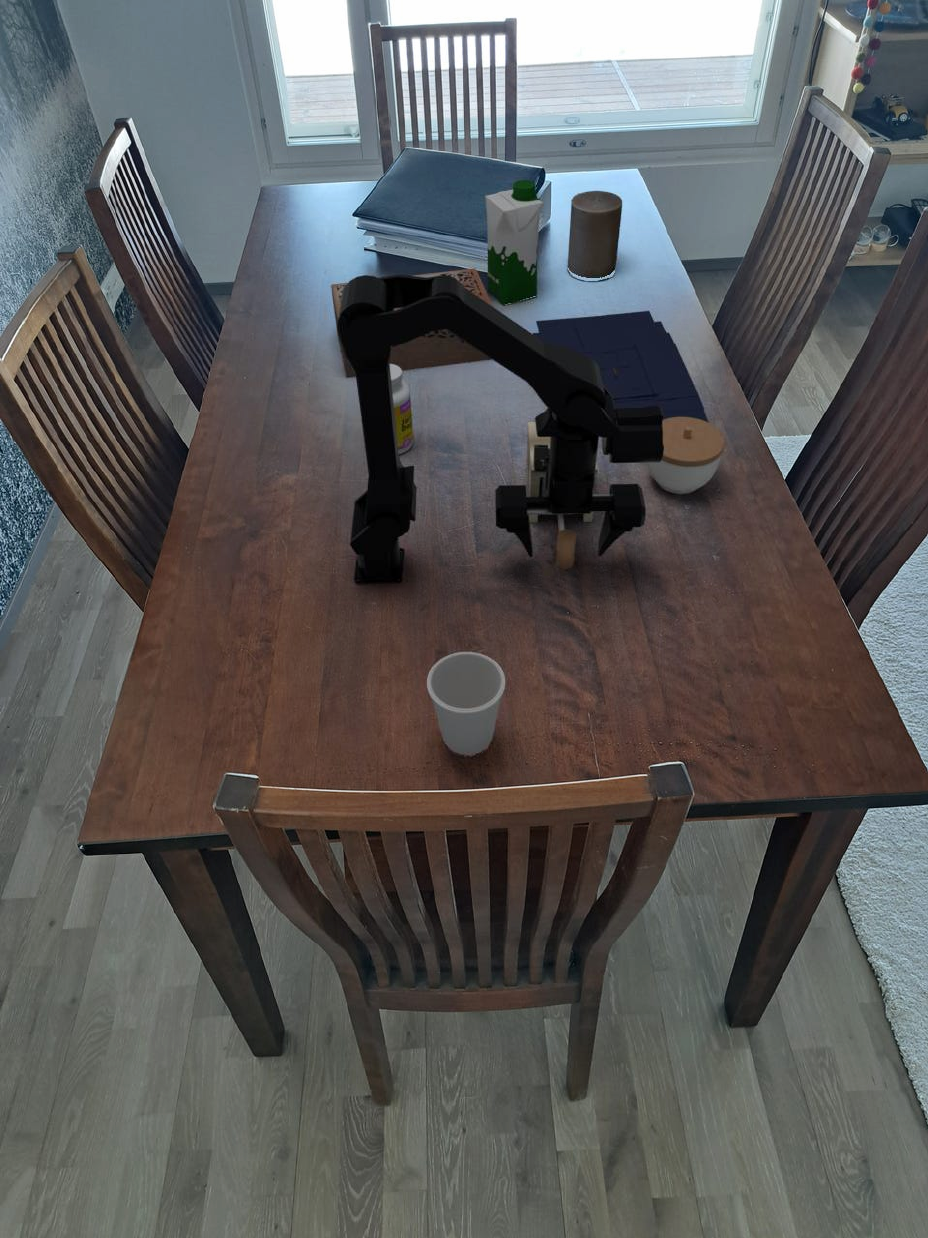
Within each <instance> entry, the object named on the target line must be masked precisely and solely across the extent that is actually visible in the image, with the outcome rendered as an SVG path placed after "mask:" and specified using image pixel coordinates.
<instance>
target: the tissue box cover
mask: <svg viewBox="0 0 928 1238" xmlns="http://www.w3.org/2000/svg"><path fill="white" fill-rule="evenodd" d="M440 275H450V276H452V277H454V278H456V279H457V280H458V281H459V282H460V283H461V284H462V285H463V286H464V287H465V288H466V289H468V290H469V291H470V292H472V293H473V294H475V295H476V296H478V297H479V298H481V299H482V300H484V301H485V302H486V303H488V304H489V305H491V306H492V307H494V305H493V303H492V300H491V299H490V297H489V295H488V293H487V290H486V288H485V286H484V284H483V281H482V280H481V276H480V275H479V272H478V271H477V269H476V268H475V267H473V268H466V269H455V270H449V271H441V272H440V271H439V272H432V273H430V272H429V273H421V274H414V275H413V274H412V275H411V276H417V277H426V278H427V277H434V276H440ZM347 284H348V282H343V283H334V284H330V288H331V296H332V304H333V311H334V318H335V325H336V329H337V322H338V316H339V310H340V304H341V298H342V292H343V289H344V287H345V286H346V285H347ZM402 308H403V307H402ZM398 309H400V308H395V309H394V311H396V310H398ZM336 333H337V339H338V345H339V349H340V354H341V359H342V363H343V369H344V373H345V377H346V379H348V378H356V376H355V373H354V371H353V369H352V368H351V366H350V364H349V362H348V361H347V359H346V356H345V353H344V350H343V347H342V344H341V341H340V338H339V335H338V332H337V331H336ZM490 360H492V359H491V358H489V357H488V356H486V355H485V354H483V353H482V352H480V351H478V350H477V349H475V348H474V347H472V346H471V345H469V344H468V343H466V342H465V341H463V340H462V339H460V338H459V337H457V336H456V335H454V334H453V333H451V332H449V331H448V330H446V329H443V330H436V331H431V332H429V333H427V334H425V335H422V336H420V337H418V338H416V339H413V340H411V341H409V342H407V343H404V344H399V345H392V346H391V350H390V360H389V363H390V364H394V365H397V366H399V367H400V368H401V370H402V372H403V371H411V370H419V369H428V368H435V367H444V366H451V365H459V364H467V363H474V362H482V361H490ZM492 361H493V360H492Z"/></svg>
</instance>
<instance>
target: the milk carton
mask: <svg viewBox="0 0 928 1238" xmlns="http://www.w3.org/2000/svg"><path fill="white" fill-rule="evenodd" d="M512 185H513V187H512V189H510V190H508V189H507V190H502V191H498V192H497V193H493V194H487V195H485V207H486V209H485V210H486V222H487V225H486V226H487V291H488V292H489V291H490V292H491V293H490V292H489V293H490V294H491V295H492V296H493V295H494V296H495V297H496V298H497V299H498V300H499V301H500V302H499V301H498V300H497V299H496V300H497V301H498V302H499V303H500V304H501V305H502V306H504V305H505V304H508V303H513V302H517V301H520V300H523V299H526V298H530V297H533V296H536V295H538V255H539V253H538V252H539V251H538V250H539V230H540V220H541V215H542V209H543V206H544V202H543V201H542V200H541V199H540V197H539V198H538V195H537V194H536V192H537V191H536V188H537V186H536V183H535V181H532V180H528V179H523V180H517V181H515V182H513V184H512ZM494 296H493V297H494ZM495 297H494V298H495ZM517 303H518V302H517ZM513 304H514V303H513ZM505 306H506V305H505Z"/></svg>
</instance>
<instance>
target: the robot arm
mask: <svg viewBox="0 0 928 1238" xmlns="http://www.w3.org/2000/svg"><path fill="white" fill-rule="evenodd" d="M347 283H348V284H347V285H346V286H345V287H344V289H343V292H342V298H341V304H340V310H339V316H338V322H337V328H336V333H337V332H338V335H339V338H340V341H341V344H342V347H343V350H344V353H345V356H346V359H347V361H348V362H349V364H350V366H351V368H352V369H353V371H354V373H355V376H356V377H355V380H356V387H357V389H356V390H357V396H358V404H359V411H360V416H361V417H360V418H361V419H360V420H361V425H362V426H361V427H362V434H363V443H364V450H365V457H366V458H365V459H366V463H367V465H366V466H367V472H368V479H367V490H366V491H364V493H362V494H361V495H359V497H358V498H356V499H355V500H354V501H353V502H354V503H353V512H352V521H351V531H350V540H349V545H350V547H351V550H353V552H354V554H355V555H356V560H355V567H354V576H353V582H354V583H355V584H358V585H359V584H360V585H361V584H363V585H364V584H367V585H368V584H401V583H402V582H403V581H404V569H405V556H406V550H405V548H403V547H400V541H399V538H401V537H402V536H404V535H405V534H407V533H408V532H409V531H410V528H411V522H416V520H417V519H416V515H417V512H416V511H417V486H416V484H415V482H414V481H415V465H409V466H404V465H403V463H402V461H401V460H400V456H399V455H400V454H398V444H397V434H396V424H395V414H394V404H393V393H392V383H391V373H390V363H389V360H390V350H391V346H392V345H399V344H404V343H407V342H409V341H411V340H413V339H416V338H418V337H420V336H422V335H425V334H427V333H429V332H431V331H436V330H443V329H446V330H448V331H449V332H451V333H453V334H454V335H456V336H457V337H459V338H460V339H462V340H463V341H465V342H466V343H468V344H469V345H471V346H472V347H474V348H475V349H477V350H478V351H480V352H482V353H483V354H485V355H486V356H488V357H489V358H491V359H492V361H493V362H495V363H496V364H498V365H500V366H501V367H503V368H504V369H506V371H507V370H508V371H509V372H510V373H512V374H514V375H515V376H517V377H518V378H520V380H523V381H524V382H526V383H527V384H528V385H529V387H531V388H532V389H533V391H534V392H535V393H536V395H537V396H538V398H539V399H540V401H541V402H542V403H543V404H544V406H546V407H547V409H545V410H544V411H543V412H541V413H539V414H538V415H536V416H535V417H534V422H535V424H536V432H537V436H538V437H551V439H550V449H549V448H548V445H534V471H535V472H546V479H545V486H546V489H547V497H541V496H539V497H527V484H519V485H517V484H515V485H513V484H510V485H499V486H498V487H497V488H496V489H495V493H494V494H495V496H494V497H495V501H494V502H495V526H496V528H499V529H500V530H504V529H505V531H506V532H507V533H510V534H514V535H515V536H516V537H517V538H518V539H519V541H520V542H521V545H523V547H524V549H525V551H526V553H527V555H528V557H529V558H532V557H533V554H534V549H533V547H534V546H533V538H532V531H531V522H530V521H529V515H538V516H539V515H557V514H563V515H578V514H582V515H583V514H591V512H592V511H593V512H604V518H603V521H602V526H601V530H600V534H599V536H598V537H599V538H598V543H597V555H598V557H602V556H603V555H604V554H605V552H607V550H608V549H609V548H610V547H611V545H613V544H614V542H616V540H618V539H619V538H620V537H621V536H622V535H623V534H625V533H627V532H632V531H633V530H634V528H641V527H642V526H644V525H645V521H646V515H647V514H646V513H647V512H646V503H645V499H644V493H643V489H642V487H641V485H639V484H638V483H611V484H610V485H609V491H608V492H609V493H607V494H605V493H604V494H603V493H601V494H599V493H598V494H596V493H595V494H593V488H594V479H595V469H596V462H597V459H598V458H597V457H598V450H599V440H600V438H601V449H602V454H603V455H604V456H609V463H610V464H639V463H640V464H643V463H647V464H648V463H650V462H660V461H661V460H662V457H663V452H664V445H663V426H662V422H663V413H662V410H661V407H660V406H648V407H644V408H616V409H615V407H614V402H613V398H612V395H611V394H610V392H609V391H608V390H607V389H606V387H605V386H604V385H603V381H602V377H601V372H600V368H599V366H598V364H597V363H596V362H595V361H594V360H593V359H591V358H589V357H587V356H585V355H583V354H581V353H578V352H576V351H574V350H572V349H570V348H567V347H558V346H552V345H550V344H548V343H545V342H543V341H542V340H540V339H539V338H537V337H536V336H535V335H533V332H530V331H529V330H527V329H525V328H524V327H523V326H521V325H520V324H518V323H517V322H516V321H514V320H513V319H511V318H510V317H508V316H507V315H505V314H504V313H502V312H501V311H500V310H498V309H497V308H495V307H494V306H493V307H492V306H491V305H489V304H488V303H486V302H485V301H484V300H482V299H481V298H479V297H478V296H476V295H475V294H473V293H472V292H470V291H469V290H468V289H466V288H465V287H464V286H463V285H462V284H461V283H460V282H459V281H458V280H457V279H456V278H454V277H452V276H450V275H440V276H434V277H427V278H426V277H417V276H412V275H410V274H409V275H407V274H394V275H393V274H392V275H389V276H388V275H387V276H380V277H378V276H375V275H368V274H365V275H360V276H356V277H354V278H352V279H350V280H349V281H348V282H347ZM402 307H403V308H402ZM395 308H400V309H398V310H396V311H394V309H395ZM338 335H337V336H338Z"/></svg>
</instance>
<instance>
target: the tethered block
mask: <svg viewBox="0 0 928 1238" xmlns="http://www.w3.org/2000/svg"><path fill="white" fill-rule="evenodd" d="M545 479H546V477H540V485H539V494H540V497H547V489H546V486H545ZM556 516H557V525H558V526H557V527H558V533H557V540H556V542H557V543H556V552H555V553H556V555H555V565H556V567H558V568H559V569H560V568H561V570H570V569H571V568H573V567H574V563H575V551H576V544H577V543H576V541H577V534H576V532H575V531H574V530H571V529H565V521H564V514H556Z"/></svg>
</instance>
